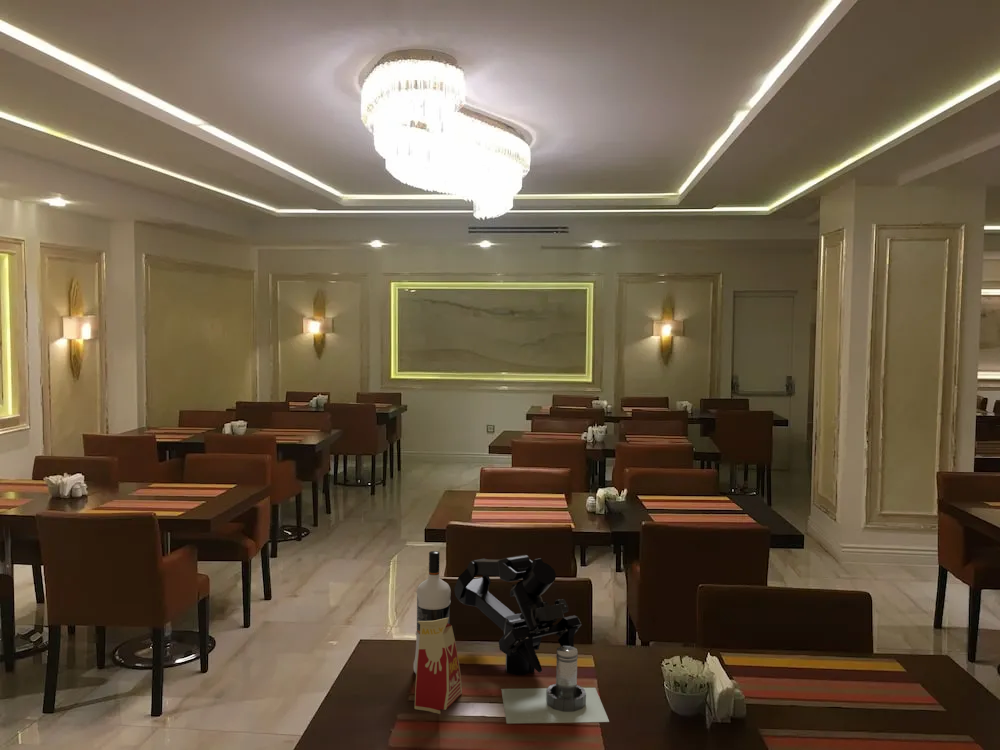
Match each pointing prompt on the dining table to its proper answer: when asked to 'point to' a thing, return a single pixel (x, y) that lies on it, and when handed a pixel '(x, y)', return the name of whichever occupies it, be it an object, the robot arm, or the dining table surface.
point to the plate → (548, 708)
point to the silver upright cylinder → (566, 672)
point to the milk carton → (437, 667)
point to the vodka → (431, 598)
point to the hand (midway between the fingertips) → (557, 667)
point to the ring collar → (565, 700)
